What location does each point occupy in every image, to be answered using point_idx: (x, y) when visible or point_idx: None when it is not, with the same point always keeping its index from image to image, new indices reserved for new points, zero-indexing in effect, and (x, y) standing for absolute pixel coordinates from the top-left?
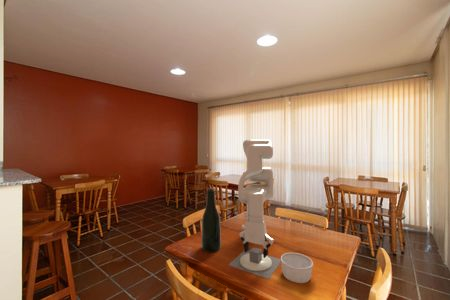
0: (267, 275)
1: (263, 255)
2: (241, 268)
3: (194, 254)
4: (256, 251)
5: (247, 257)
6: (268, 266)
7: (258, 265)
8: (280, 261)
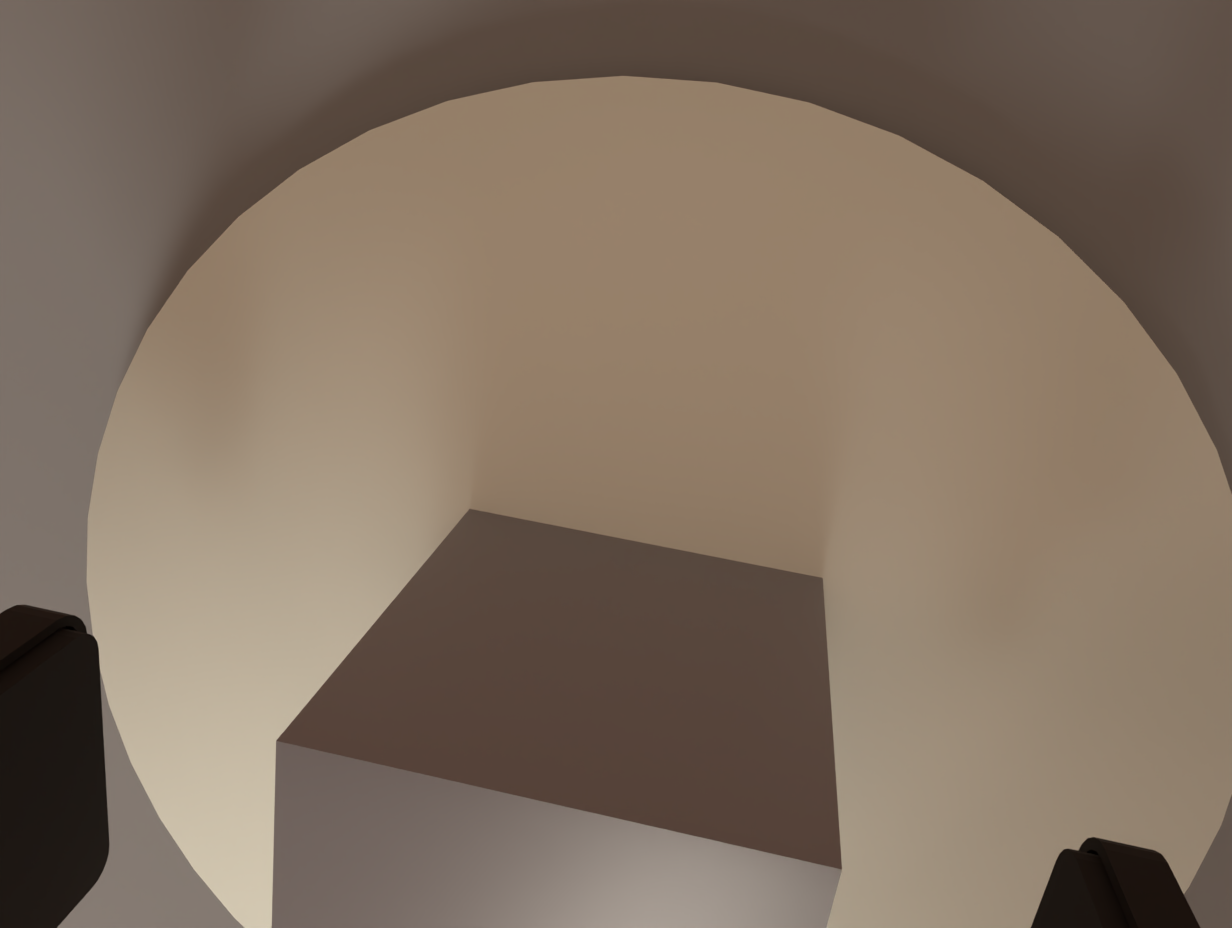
0: (20, 23)
1: (21, 671)
2: (1046, 56)
3: None
4: (431, 903)
5: (971, 808)
6: (114, 477)
7: (428, 419)
8: None
